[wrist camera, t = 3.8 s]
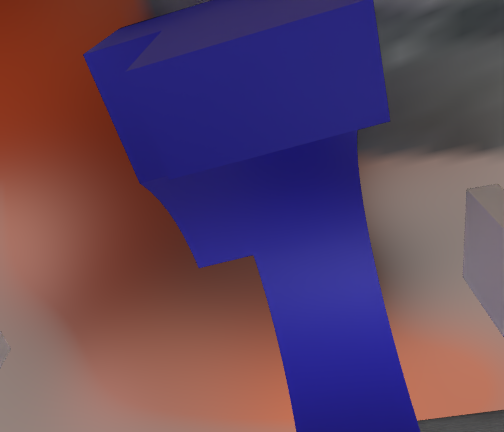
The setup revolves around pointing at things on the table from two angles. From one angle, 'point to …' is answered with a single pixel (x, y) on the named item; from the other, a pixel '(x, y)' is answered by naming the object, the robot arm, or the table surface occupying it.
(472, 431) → the grey tray
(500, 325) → the robot arm
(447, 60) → the table surface
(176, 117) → the blue long curved piece
